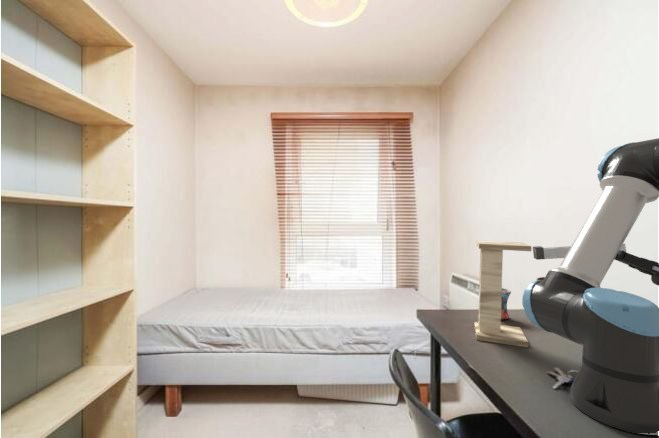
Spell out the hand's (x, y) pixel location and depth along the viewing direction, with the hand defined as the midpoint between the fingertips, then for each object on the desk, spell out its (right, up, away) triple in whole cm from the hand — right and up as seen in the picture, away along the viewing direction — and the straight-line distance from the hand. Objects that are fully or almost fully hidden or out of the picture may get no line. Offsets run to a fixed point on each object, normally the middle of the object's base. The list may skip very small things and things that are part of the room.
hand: (583, 241), depth 97 cm
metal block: (-1, -4, +1) cm, 5 cm away
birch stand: (-21, -31, +9) cm, 38 cm away
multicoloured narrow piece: (-10, -31, +29) cm, 44 cm away
